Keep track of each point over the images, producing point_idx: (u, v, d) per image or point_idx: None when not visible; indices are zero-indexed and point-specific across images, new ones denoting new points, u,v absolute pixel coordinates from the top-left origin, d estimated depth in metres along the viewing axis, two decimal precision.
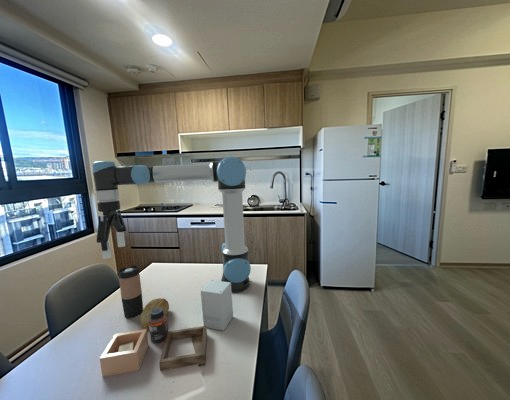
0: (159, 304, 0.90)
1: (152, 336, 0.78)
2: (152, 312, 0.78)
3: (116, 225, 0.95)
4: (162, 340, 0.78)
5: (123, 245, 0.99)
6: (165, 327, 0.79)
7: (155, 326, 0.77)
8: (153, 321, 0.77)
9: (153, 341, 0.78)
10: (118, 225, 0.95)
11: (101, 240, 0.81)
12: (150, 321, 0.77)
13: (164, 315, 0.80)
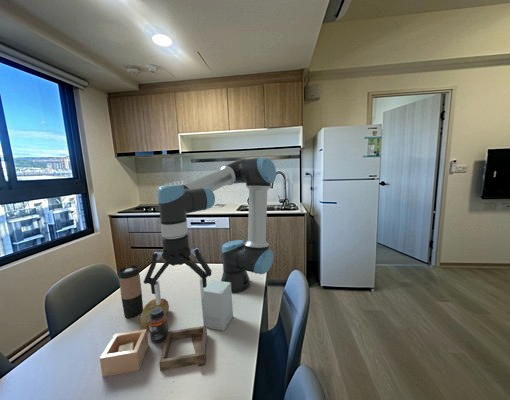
0: (159, 304, 0.90)
1: (152, 336, 0.78)
2: (152, 312, 0.78)
3: None
4: (162, 340, 0.78)
5: (201, 296, 0.72)
6: (165, 327, 0.79)
7: (155, 326, 0.77)
8: (153, 321, 0.77)
9: (153, 341, 0.78)
10: None
11: None
12: (150, 321, 0.77)
13: (164, 315, 0.80)
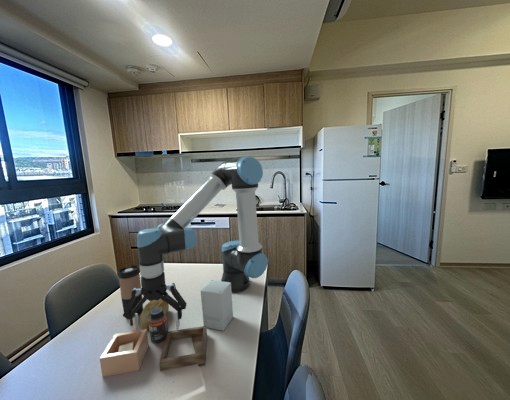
0: (159, 304, 0.90)
1: (152, 336, 0.78)
2: (152, 312, 0.78)
3: None
4: (162, 340, 0.78)
5: None
6: (165, 327, 0.79)
7: (155, 326, 0.77)
8: (153, 321, 0.77)
9: (153, 341, 0.78)
10: None
11: (124, 313, 0.77)
12: (150, 321, 0.77)
13: (164, 315, 0.80)
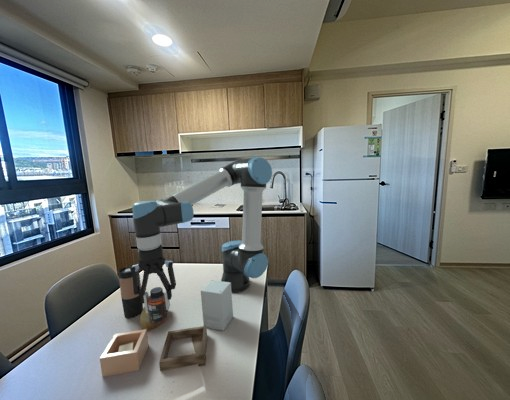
0: None
1: (151, 315, 0.77)
2: (152, 291, 0.77)
3: None
4: (161, 320, 0.78)
5: None
6: (164, 307, 0.78)
7: (154, 305, 0.76)
8: (152, 300, 0.76)
9: (152, 320, 0.77)
10: None
11: None
12: (149, 300, 0.77)
13: (164, 295, 0.79)
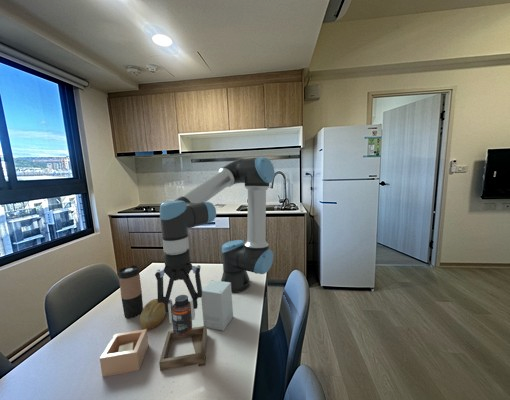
0: (158, 304, 0.90)
1: (175, 326, 0.70)
2: (177, 299, 0.71)
3: None
4: (186, 331, 0.71)
5: None
6: (190, 317, 0.72)
7: (180, 315, 0.70)
8: (178, 309, 0.70)
9: (176, 331, 0.70)
10: None
11: None
12: (174, 309, 0.70)
13: (189, 303, 0.72)
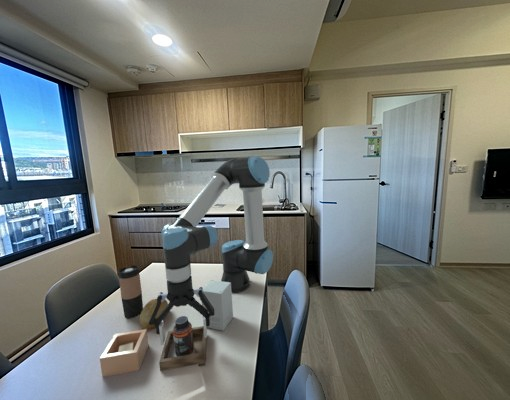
0: None
1: (177, 348, 0.71)
2: (177, 322, 0.72)
3: None
4: (188, 352, 0.72)
5: None
6: (191, 338, 0.73)
7: (181, 337, 0.70)
8: (178, 332, 0.70)
9: (178, 353, 0.71)
10: None
11: None
12: (175, 331, 0.71)
13: (189, 325, 0.73)
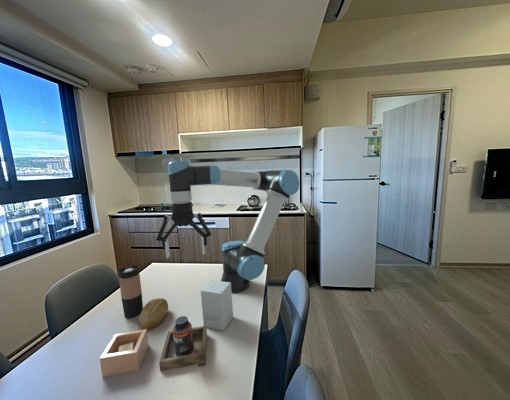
0: (158, 304, 0.90)
1: (177, 348, 0.71)
2: (177, 321, 0.72)
3: None
4: (188, 352, 0.72)
5: None
6: (191, 338, 0.73)
7: (181, 337, 0.70)
8: (178, 332, 0.70)
9: (178, 353, 0.71)
10: None
11: (157, 238, 0.86)
12: (175, 331, 0.71)
13: (189, 325, 0.73)
